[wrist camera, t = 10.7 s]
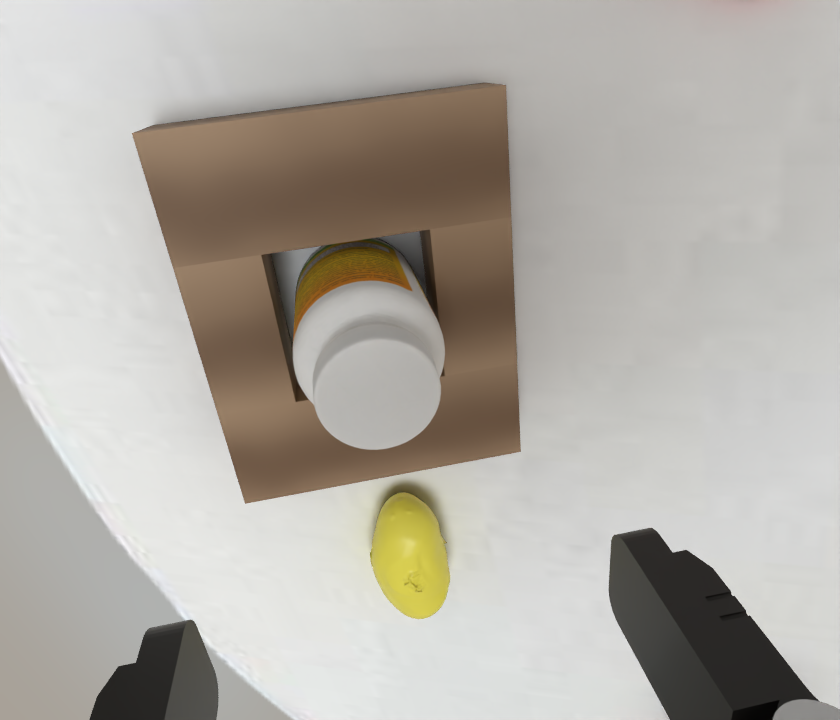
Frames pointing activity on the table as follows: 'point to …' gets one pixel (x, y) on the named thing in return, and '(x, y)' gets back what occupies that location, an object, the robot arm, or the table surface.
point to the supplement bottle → (367, 344)
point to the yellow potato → (410, 556)
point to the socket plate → (330, 224)
